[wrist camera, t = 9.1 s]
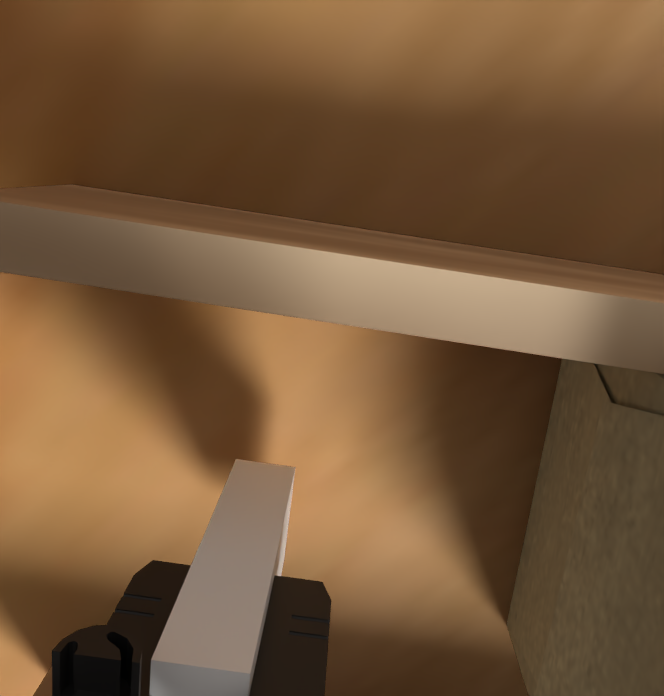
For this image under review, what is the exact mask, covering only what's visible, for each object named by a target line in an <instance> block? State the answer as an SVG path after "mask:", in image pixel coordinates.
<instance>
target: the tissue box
mask: <svg viewBox="0 0 664 696" xmlns="http://www.w3.org/2000/svg"><path fill="white" fill-rule="evenodd" d="M507 628H508V631H509V634H510V637H511V641H512V644H513V647H514V650H515V654H516V657H517V660H518V663H519V667H520V670H521V673H522V677H523V680H524V683H525V686H526V690H527V693H528V696H664V374H660V373H654V372H647V371H641V370H634V369H628V368H621V367H615V366H608V365H602V364H595V363H589V362H582V361H576V360H569V359H563V358H562V361H561V366H560V371H559V376H558V380H557V385H556V390H555V395H554V400H553V404H552V409H551V414H550V419H549V423H548V428H547V433H546V438H545V443H544V447H543V452H542V457H541V462H540V467H539V471H538V476H537V481H536V486H535V491H534V495H533V500H532V505H531V510H530V514H529V519H528V524H527V529H526V534H525V538H524V543H523V548H522V553H521V558H520V562H519V567H518V572H517V577H516V582H515V586H514V591H513V596H512V601H511V605H510V610H509V615H508V620H507Z"/></svg>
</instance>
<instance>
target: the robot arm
mask: <svg viewBox="0 0 664 696" xmlns="http://www.w3.org/2000/svg"><path fill="white" fill-rule="evenodd" d="M294 475H295V467H291V466H284V465H276V464H269V463H262V462H254V461H247V460H240V459H236V460H235V463H234V465H233V467H232V470H231V472H230V474H229V477H228V479H227V482H226V484H225V486H224V489H223V491H222V493H221V496H220V498H219V500H218V503H217V505H216V508H215V510H214V512H213V515H212V517H211V519H210V522H209V524H208V526H207V529H206V531H205V534H204V536H203V538H202V541H201V543H200V545H199V548H198V550H197V552H196V555H195V557H194V560H193V562H192V564H191V565H183V564H176V563H169V562H162V561H155V560H153V561H151V562H150V563H149V564H147V565H146V566H145V567H144V568H142V569H141V570H140V571H138V572H137V573H136V574H135V575H134V576H133V578H132V580H131V581H130V583H129V585H128V587H127V589H126V591H125V592H124V596H123V597H122V598H121V600H120V601H119V603H118V605H117V607H116V610H115V613H114V612H113V614H112V616H111V618H110V620H109V621H108V623H107V625H95V626H92V627H88V628H84V629H80V630H78V631H76V632H74V633H72V634H71V635H69V636H67V637H65V638H64V639H62V641H61V642H60V643H59V644H58V645H57V646H56V647H55V648H54V649H53V650H52V696H324V694H325V680H326V666H327V652H328V637H329V622H330V610H331V599H330V597H329V595H328V593H327V591H326V588H325V586H324V584H323V582H319V581H312V580H305V579H297V578H290V577H283V576H281V574H282V569H283V564H284V557H285V549H286V541H287V533H288V525H289V516H290V508H291V500H292V492H293V483H294Z"/></svg>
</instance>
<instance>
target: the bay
mask: <svg viewBox="0 0 664 696" xmlns="http://www.w3.org/2000/svg"><path fill="white" fill-rule="evenodd" d="M0 272H4V273H11V274H17V275H24V276H30V277H37V278H43V279H50V280H56V281H63V282H69V283H76V284H82V285H89V286H95V287H102V288H108V289H114V290H121V291H127V292H134V293H140V294H147V295H153V296H160V297H166V298H173V299H179V300H186V301H192V302H199V303H205V304H212V305H218V306H225V307H231V308H238V309H244V310H251V311H257V312H264V313H270V314H277V315H283V316H290V317H296V318H303V319H309V320H316V321H322V322H329V323H335V324H342V325H348V326H355V327H361V328H368V329H374V330H381V331H387V332H394V333H400V334H407V335H413V336H420V337H426V338H433V339H439V340H446V341H452V342H459V343H465V344H472V345H478V346H485V347H491V348H498V349H504V350H511V351H517V352H524V353H530V354H537V355H543V356H550V357H556V358H563V359H569V360H576V361H582V362H589V363H595V364H602V365H608V366H615V367H621V368H628V369H634V370H641V371H647V372H654V373H660V374H664V275H663V274H657V273H650V272H643V271H637V270H630V269H624V268H617V267H611V266H604V265H597V264H591V263H584V262H578V261H571V260H565V259H558V258H552V257H545V256H538V255H532V254H525V253H519V252H512V251H506V250H499V249H492V248H486V247H479V246H473V245H466V244H460V243H453V242H446V241H440V240H433V239H427V238H420V237H414V236H407V235H401V234H394V233H387V232H381V231H374V230H368V229H361V228H355V227H348V226H341V225H335V224H328V223H322V222H315V221H309V220H302V219H295V218H289V217H282V216H276V215H269V214H263V213H256V212H250V211H243V210H236V209H230V208H223V207H217V206H210V205H204V204H197V203H190V202H184V201H177V200H171V199H164V198H158V197H151V196H144V195H138V194H131V193H125V192H118V191H112V190H105V189H99V188H92V187H85V186H79V185H72V184H68V185H51V186H34V187H16V188H0ZM33 696H52V666H51V668H50V670H49V671H48V673H47V674H46V676H45V678H44V679H43V681H42V682H41V684H40V685H39V687H38V689H37V690H36V692H35V693H34V695H33Z"/></svg>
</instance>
